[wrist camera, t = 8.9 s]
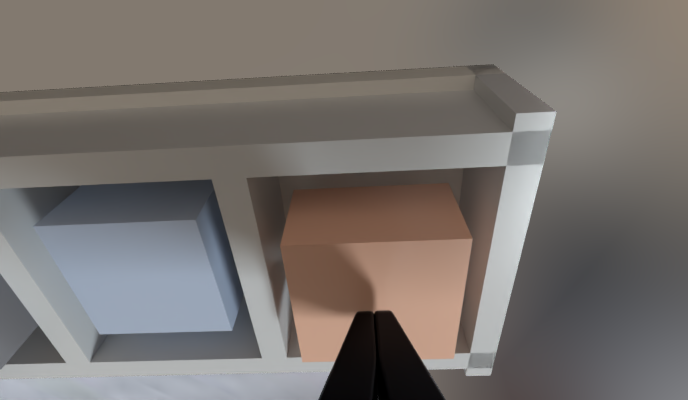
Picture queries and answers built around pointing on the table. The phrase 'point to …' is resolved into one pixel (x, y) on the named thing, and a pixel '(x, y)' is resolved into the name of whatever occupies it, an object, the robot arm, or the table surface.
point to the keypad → (265, 196)
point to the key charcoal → (12, 323)
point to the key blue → (146, 256)
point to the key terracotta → (376, 264)
